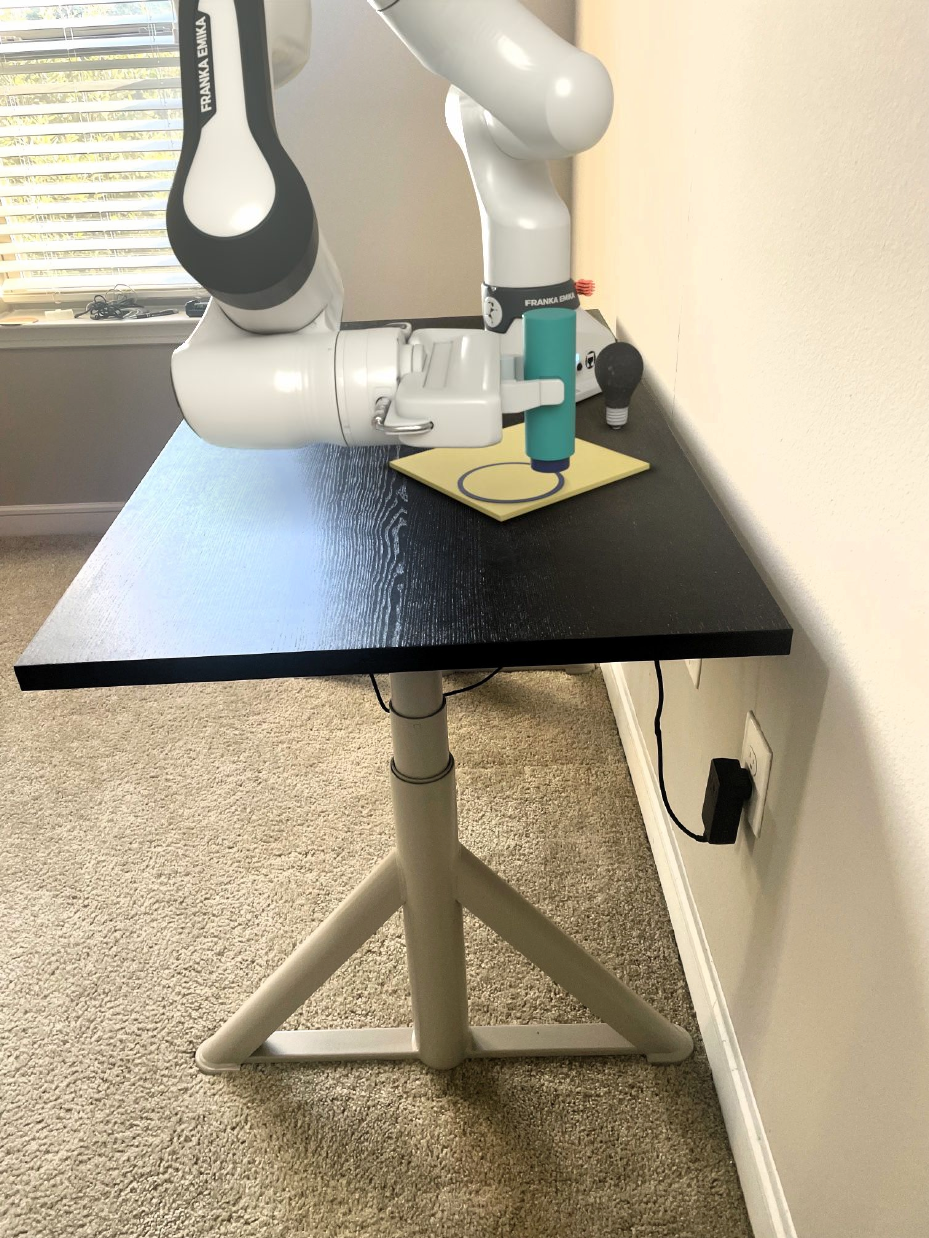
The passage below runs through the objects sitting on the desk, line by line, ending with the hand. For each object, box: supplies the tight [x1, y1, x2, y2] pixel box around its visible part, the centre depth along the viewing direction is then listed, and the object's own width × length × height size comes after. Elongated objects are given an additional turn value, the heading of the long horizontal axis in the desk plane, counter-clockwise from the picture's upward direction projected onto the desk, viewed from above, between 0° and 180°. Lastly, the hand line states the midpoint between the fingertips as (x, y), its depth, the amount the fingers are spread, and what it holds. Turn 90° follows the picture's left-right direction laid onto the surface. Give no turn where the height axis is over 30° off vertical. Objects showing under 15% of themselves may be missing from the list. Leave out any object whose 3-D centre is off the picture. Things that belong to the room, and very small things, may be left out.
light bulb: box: [594, 341, 644, 430], centre depth 100 cm, size 6×6×10 cm
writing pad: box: [388, 421, 650, 522], centre depth 93 cm, size 20×20×1 cm
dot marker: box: [523, 308, 576, 473], centre depth 67 cm, size 4×4×12 cm
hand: (561, 379), depth 67 cm, fingers closed on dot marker, 4 cm apart
